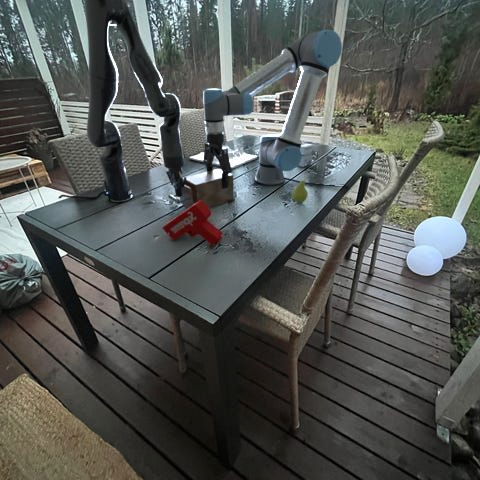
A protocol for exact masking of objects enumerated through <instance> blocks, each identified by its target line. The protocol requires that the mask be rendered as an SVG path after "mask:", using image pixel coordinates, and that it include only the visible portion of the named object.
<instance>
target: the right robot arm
mask: <svg viewBox="0 0 480 480" xmlns="http://www.w3.org/2000/svg"><path fill="white" fill-rule="evenodd" d="M342 50H343V43H342V41H341V37H340V35H339V34H338V33H337V32H336V31H334V30H332V29H322V30H319V31H313V32H308V33H305V34H303V35H301V36H300V37H298V38H297V39H296V40H295V41H293V42H292V43H291V44H289V45H288V46H287V47H285V48H283V50H282V51H281V53H280V54H279V55H278V56H276V57H275V58H273V59H272V60H271V61H269V62H268V63H266V64H264V65H263V66H262V67H260V68H259V69H256V70H255V71H254V72H253V73H251V74H250V75H248V76H247V77H245V78H244V79H243V80H241V81H239V82H238V83H237V84H235V85H233V86H232V87H230V88H229V89H227V90H223V89H222V88H206V89H204V90H203V92H202V96H203V97H202V99H203V100H202V101H203V102H202V103H203V113H204V115H203V116H204V127H205V143H204V144H203V145H204V151H203V153H204V159H203V162H202V163H203V165H205V167H206V172H208V171H212V170H214V166H213V164H212V162H213V159H214V156H216V158H217V159H218V161H219V164H220V166H219V167H220V169H221V170H222V172H223V173H222V188H223V189H225V188H228V180H229V179H228V178H229V177H228V174H229V173H230V174H232V172H233V169H231V165H230V161H229V156H228V149H227V148H223V146H224V143H225V119H224V117H228V116H229V117H230V116H247V115H251V114H252V112H253V110H254V98H253V97H254V96H256V95H257V94H258V93H260V92H261V91H263V90H265V89H266V88H268V87H269V86H270V85H272V84H273V83H274V82H276V81H278V80H280V79H281V78H282V77H284V76H285V75H287V74H288V73H294V72H296V71H297V70H300V71H301V73H300V77H299V80H298V83H297V87H296V89H295V92H294V95H293V98H292V100H291V103H290V107H289V110H288V113H287V116H286V118H285V122H284V125H283V127H282V131H281V133H279V134H266V135H264V134H263V135H262V136H260V138H259V143H258V145H259V153H258V157H259V158H258V167H257V171H256V174H255V177H254V181H255V183H258V184H259V185H262V186H263V185H264V186H279V185H281V184H283V183H284V181H285V180H286V181H290V182H293V183H298V184H299V183H300V182H301V181H302V180H297V179H293V178H289V177H285V175H284V172H290V171H291V172H292V171H293V170H294V169H296V168H297V167H299V166H298V165H299V163H300V161H301V157H302V154H301V151H300V147H301V145H303V142H302V141H301V137H302V135H303V131H304V130H305V126H306V124H307V121H308V118H309V116H310V112H311V110H312V108H313V104H314V102H315V99H316V96H317V93H318V91H319V87H320V85H321V82H322V80H323V78H326V77H327V76H328V74H329V71H330V69H331V67H333V66H335V64H337V62H338V61H339V60H340V58H341V55H342ZM222 144H223V145H222ZM220 155H222V156H220ZM206 160H207V161H206ZM315 183H316V182H308V181H305V185H312V186H321V187H333V188H337V187H338V188H339V187H341V186H335V185H336V184H330V185H324V184H325V183H320V184H315ZM340 185H344V186H343V187H344V188H346V189H350V187H349V186H348V185H347V184H344V183H343V184H342V183H341V184H340Z"/></svg>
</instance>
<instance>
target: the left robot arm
mask: <svg viewBox="0 0 480 480" xmlns="http://www.w3.org/2000/svg"><path fill="white" fill-rule="evenodd" d="M84 13H85V22H86V32H87V48H88V49H87V50H88V112H87V120H86V136H87V138H88V141H89V144H91V146H93V148H97V149H98V148H99V149H101V148H104V150H103V152H102V153H101V154H99V156H98V160H99V164H100V168H101V170H102V171H101V172H102V173H103V178H104V180H103V185H104V188H105V189H104V190H103V191H101V192H99V193H98V194H97V195H96V196H85V195H83V196H82V195H81V196H78V195H67V194H60V195H59V196H58V199H62V198H68V199H87V200H97V199H99V198H100V197H101V196H102V195H104V197H107V198H108V201H109V202H112V203H117V204H119V203H124V202H125V203H126V202H128V201H130V200H131V199H133V194H132V189H131V186H130V183H129V182H130V181H129V179H128V174H127V170H126V166H125V162H124V149H123V144H122V139H121V134H120V131H119V129H118V126H117V125H116V124H115V123H114V122H113V121H111V120H106V118H107V117H106V116H107V114H108V111H109V110H110V108H111V106H112V104H113V103H114V100H115V98H116V96H117V93H118V86H119V85H118V83H119V72H118V67H117V65H116V62H115V60H114V57H113V55H112V53H111V50H110V47H109V26H113V27H114V26H115V28H116V29H117V30H118V31H119V33H120V35H121V36H122V38H123V40H124V42H125V45H126V50H127V56H128V62H129V64H130V67H131V69H132V71H133V73H134V74H135V77H136V78H137V80H138V82H139V83H140V85H141V87H142V88H143V92H144V95H145V98H146V101H147V103H148V106H149V109H150V110H151V111H152V113H153V115H155V116H156V117H159V118H162V119H163V122H162V123H161V125H159V128H158V130H159V137H160V145H161V146H160V147H161V153H162V159H163V165H164V167H165V168H166V169H168V170H167V171H165V173H166V175H167V178H168V180H169V182H170V184H171V186H172V187H173V188H174V193H175V194H176V196H175V197H176V198H180V197H181V196H182V190H181V188H183V187H184V185H185V183H186V177H187V176H183V170H182V168H183V167H184V166H185V158H184V152H183V145H182V141H181V133H180V123H181V122H180V121H181V104H180V101H179V99H178V97H177V96H176V95H175V94H174V93H170V92H167V93H163V92H162V89H161V87H162V85H163V78H162V76H161V74H160V71H158V69H157V67H156V65H155V63H154V61H153V60H152V58H151V56H150V54H149V52H148V51H147V48H146V46H145V44H144V42H143V39H142V38H141V35H140V32H139V30H138V28H137V25H136V22H135V20H134V18H133V15H132V13H131V10H130V8H129V6H128V3H127V1H126V0H84ZM175 194H174V195H175Z"/></svg>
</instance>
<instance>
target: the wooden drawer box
mask: <svg viewBox="0 0 480 480" xmlns="http://www.w3.org/2000/svg"><path fill="white" fill-rule="evenodd" d="M222 173H223V172H222V169H221V168H216V169H213V170H212V171H208V172H207V171H204V172H201V173H196V174H192V175H188V176H185V177H186V182H187V183H189V184H191V185H193V186H195V192H196V202H198V201H199V200H202V201H203V202H204V203H205V205H206V206H207V207H208V208H209V209H210V208H212V207H216V206H218V205H223V204H225V203H228V202H231V201H234V199H235V198H234V197H235V196H234V174H232V173H229V174H228V177H229V178H228V179H229V180H228V188H225V189H223V188H222Z"/></svg>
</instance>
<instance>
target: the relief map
mask: <svg viewBox="0 0 480 480" xmlns="http://www.w3.org/2000/svg"><path fill="white" fill-rule="evenodd" d="M222 145H223V148H227V149H228V156H229V161H230V165H231V170H233V169H235V168H237V167H240V166H241V165H244V164H247V163H250V162H252V161H254V160H256V159H258V155H256V154H249V153H246V152H245V151H244V149H242V148H238V149H235V150H233V149H231V148H230V147H229V146H228V145H227V144H225V145H224V143H223V144H222ZM220 156H222V155H220ZM203 159H204V151H203V152H202V151H201V152H200V153H198V154H196V155H192V156H189V160H193V161H196V162H201V163H203ZM206 161H207V160H206ZM213 165H214V166H217V167H221V166H220V164H219V161H218V159H217V158H216V156H214V159H213V162H212V166H213Z"/></svg>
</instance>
